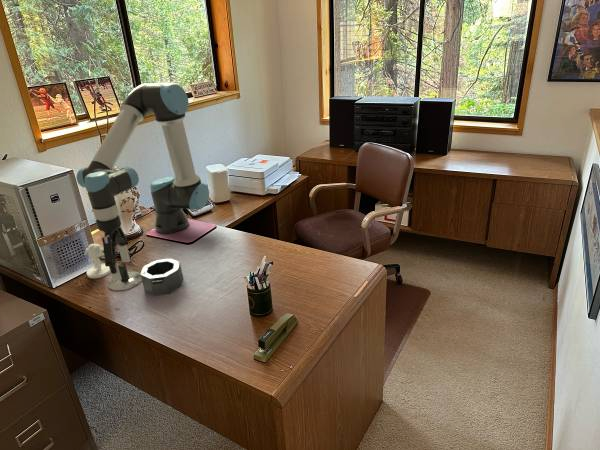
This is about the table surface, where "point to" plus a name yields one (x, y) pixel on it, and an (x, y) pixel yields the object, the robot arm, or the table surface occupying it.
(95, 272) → the figurine
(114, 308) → the table surface
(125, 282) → the black peg on disc
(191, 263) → the table surface
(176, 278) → the pot
